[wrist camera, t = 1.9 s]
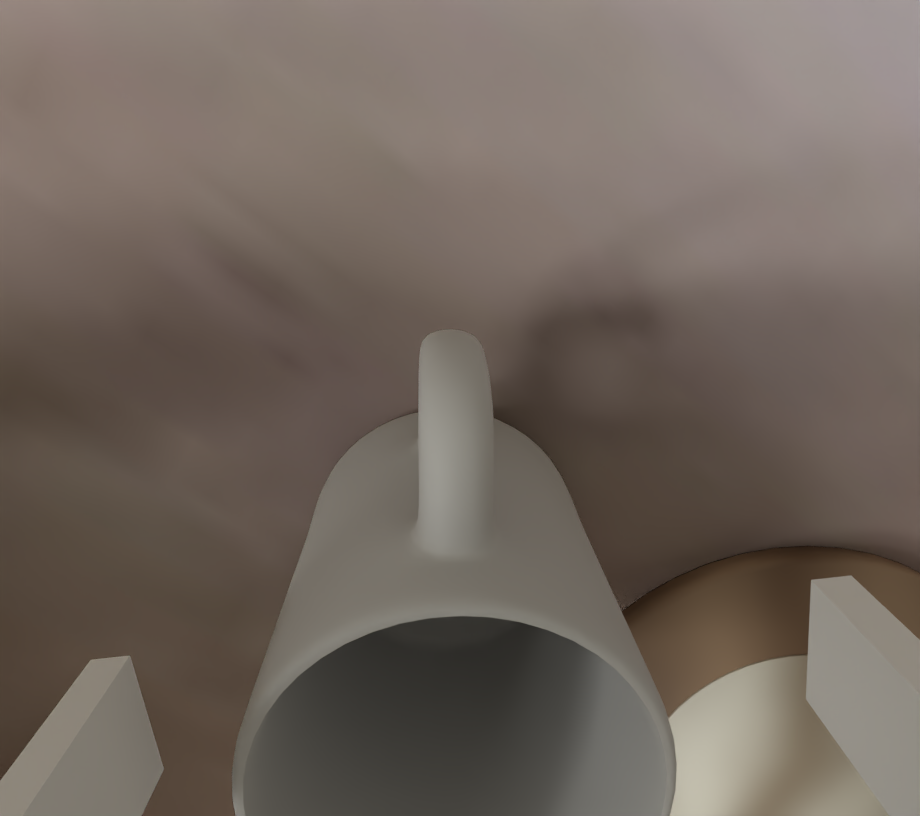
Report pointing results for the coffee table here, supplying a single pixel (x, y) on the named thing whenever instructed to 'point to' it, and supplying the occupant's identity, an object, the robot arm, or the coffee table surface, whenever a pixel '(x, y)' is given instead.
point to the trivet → (757, 680)
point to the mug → (451, 636)
